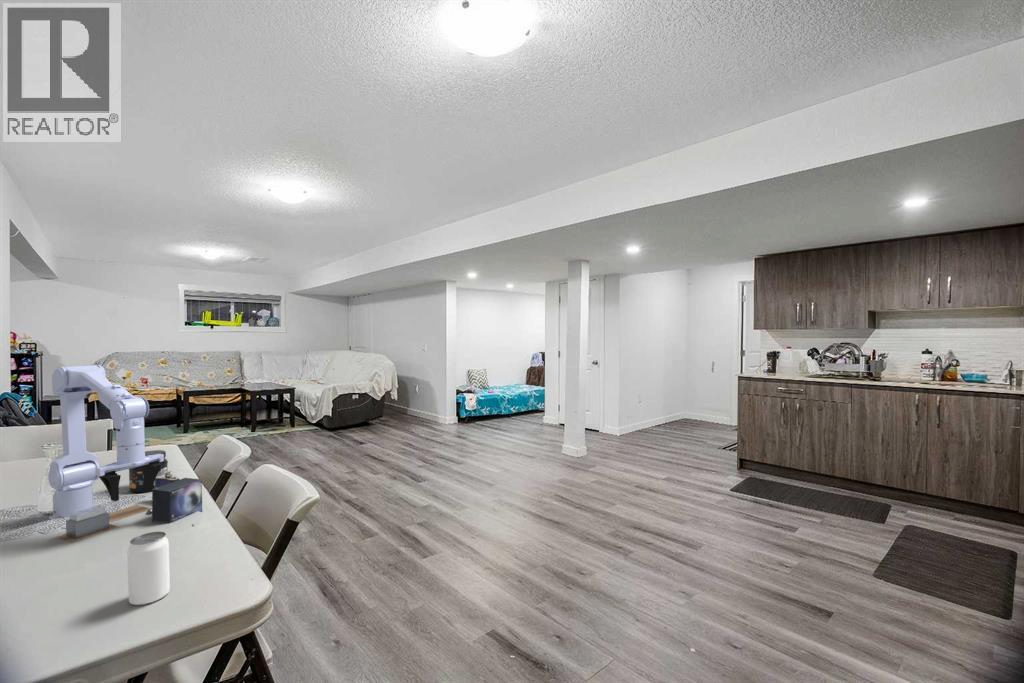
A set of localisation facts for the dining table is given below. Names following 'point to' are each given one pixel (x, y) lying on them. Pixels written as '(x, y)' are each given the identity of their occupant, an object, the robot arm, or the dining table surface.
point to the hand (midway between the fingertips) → (132, 495)
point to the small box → (176, 500)
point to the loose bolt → (149, 512)
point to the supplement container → (138, 477)
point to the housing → (87, 522)
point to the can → (148, 568)
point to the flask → (165, 479)
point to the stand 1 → (72, 540)
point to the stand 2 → (126, 512)
